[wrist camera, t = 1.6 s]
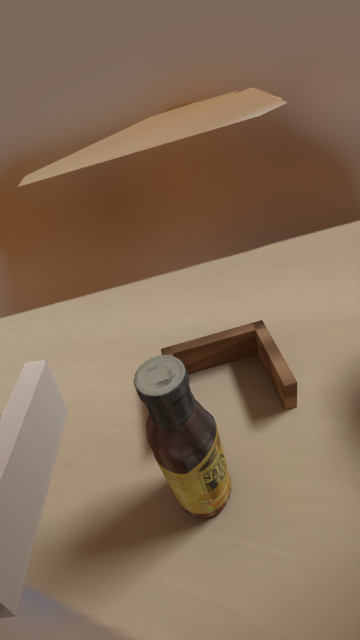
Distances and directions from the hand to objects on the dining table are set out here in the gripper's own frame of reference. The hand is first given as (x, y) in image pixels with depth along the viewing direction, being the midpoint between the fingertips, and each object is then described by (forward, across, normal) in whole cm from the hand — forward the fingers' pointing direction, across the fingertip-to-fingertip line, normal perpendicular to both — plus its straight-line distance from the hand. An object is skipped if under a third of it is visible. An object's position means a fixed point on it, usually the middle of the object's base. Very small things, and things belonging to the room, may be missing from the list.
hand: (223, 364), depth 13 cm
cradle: (+22, +4, -26) cm, 34 cm away
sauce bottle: (+11, -1, -28) cm, 30 cm away
